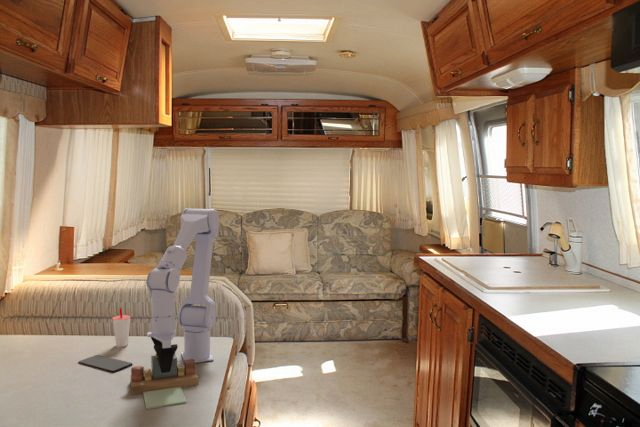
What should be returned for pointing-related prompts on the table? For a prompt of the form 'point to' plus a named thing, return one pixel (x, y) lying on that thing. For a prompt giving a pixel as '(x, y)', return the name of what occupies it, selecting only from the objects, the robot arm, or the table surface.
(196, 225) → the robot arm
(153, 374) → the grey block
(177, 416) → the table surface
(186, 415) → the table surface
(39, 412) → the table surface
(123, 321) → the cup
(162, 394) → the mat
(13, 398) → the table surface
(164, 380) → the block sculpture plaque
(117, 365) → the smartphone
